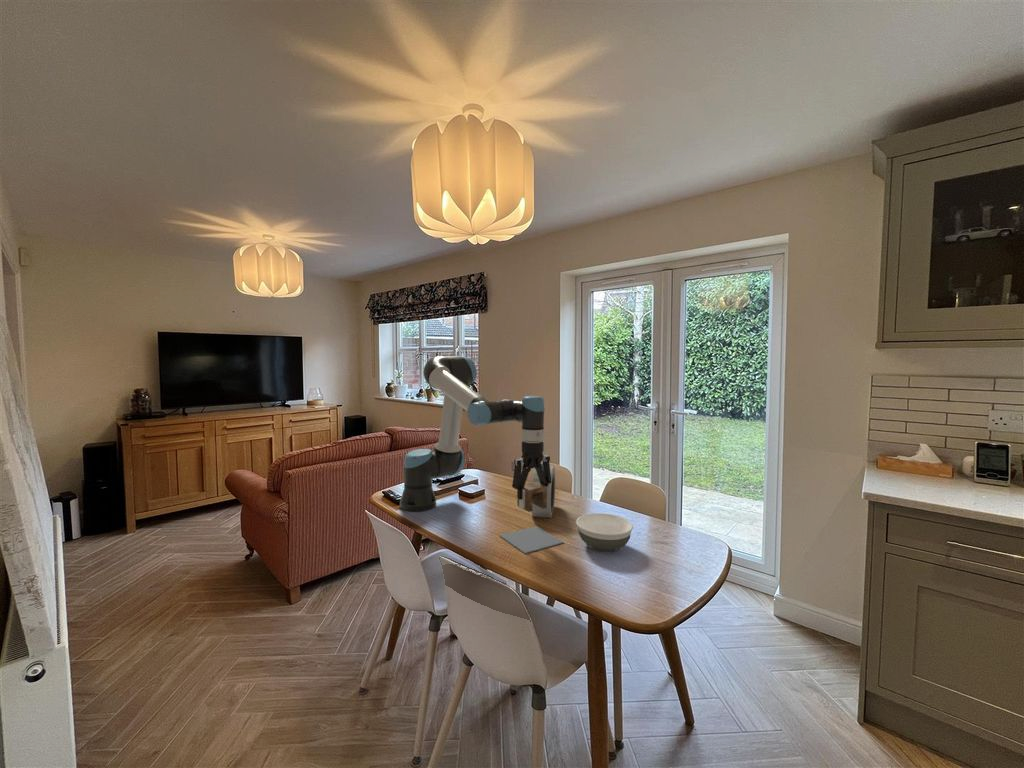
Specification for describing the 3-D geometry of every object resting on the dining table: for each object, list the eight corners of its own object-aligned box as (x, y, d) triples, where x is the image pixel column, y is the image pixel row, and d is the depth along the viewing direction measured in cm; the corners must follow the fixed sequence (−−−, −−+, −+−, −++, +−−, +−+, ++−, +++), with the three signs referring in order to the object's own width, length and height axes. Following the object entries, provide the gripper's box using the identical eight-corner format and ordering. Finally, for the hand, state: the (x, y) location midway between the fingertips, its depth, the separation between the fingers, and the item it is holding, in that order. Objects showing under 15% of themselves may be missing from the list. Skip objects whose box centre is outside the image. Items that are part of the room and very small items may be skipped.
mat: (499, 536, 151) (499, 535, 151) (536, 527, 159) (536, 526, 159) (524, 554, 137) (524, 552, 137) (563, 543, 146) (563, 542, 146)
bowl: (622, 565, 131) (623, 539, 130) (566, 550, 141) (567, 525, 140) (639, 543, 147) (639, 520, 146) (588, 531, 156) (588, 509, 156)
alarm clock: (549, 522, 165) (550, 471, 164) (530, 520, 166) (531, 470, 165) (555, 504, 186) (555, 459, 184) (538, 502, 187) (538, 458, 186)
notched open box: (528, 511, 143) (528, 489, 142) (517, 505, 149) (517, 484, 148) (546, 508, 147) (546, 486, 146) (534, 502, 153) (535, 481, 152)
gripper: (513, 445, 138) (512, 514, 139) (562, 440, 149) (561, 504, 150) (501, 441, 144) (501, 508, 145) (549, 436, 155) (548, 498, 156)
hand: (531, 506), depth 148 cm, fingers closed on notched open box, 7 cm apart
